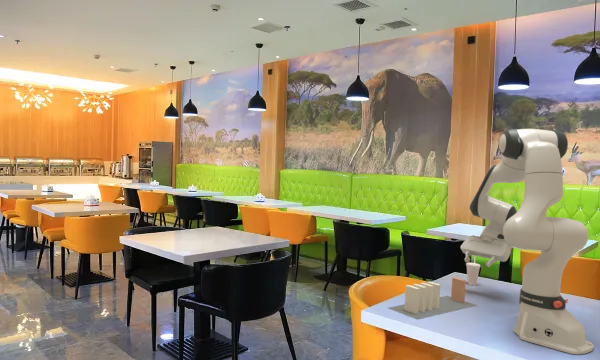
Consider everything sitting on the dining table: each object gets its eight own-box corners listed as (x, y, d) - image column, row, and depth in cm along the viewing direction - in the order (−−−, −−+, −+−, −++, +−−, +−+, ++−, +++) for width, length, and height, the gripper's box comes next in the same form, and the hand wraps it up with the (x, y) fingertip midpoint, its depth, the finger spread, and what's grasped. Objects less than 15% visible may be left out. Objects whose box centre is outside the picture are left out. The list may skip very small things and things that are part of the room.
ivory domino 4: (428, 304, 172) (429, 281, 172) (439, 308, 168) (440, 284, 168) (425, 305, 171) (426, 281, 171) (436, 309, 167) (437, 285, 167)
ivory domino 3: (421, 306, 170) (422, 282, 169) (432, 309, 166) (433, 285, 165) (418, 306, 169) (420, 283, 168) (429, 310, 165) (431, 286, 164)
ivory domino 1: (407, 309, 165) (408, 284, 165) (418, 313, 161) (419, 288, 161) (404, 309, 164) (405, 285, 164) (415, 313, 160) (416, 288, 160)
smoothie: (481, 286, 207) (483, 256, 207) (467, 285, 207) (469, 255, 207) (476, 283, 214) (478, 254, 213) (462, 282, 214) (464, 253, 213)
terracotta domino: (453, 299, 181) (454, 277, 181) (464, 302, 177) (465, 280, 177) (451, 299, 180) (452, 277, 180) (461, 303, 176) (463, 280, 176)
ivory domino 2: (414, 307, 167) (415, 283, 167) (425, 311, 163) (426, 287, 163) (411, 308, 166) (413, 284, 166) (422, 312, 162) (424, 287, 162)
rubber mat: (477, 306, 175) (477, 305, 175) (417, 321, 154) (417, 319, 154) (447, 297, 186) (447, 295, 186) (387, 309, 165) (387, 307, 165)
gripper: (466, 230, 198) (452, 253, 192) (511, 237, 181) (496, 263, 176) (472, 239, 200) (457, 263, 195) (516, 247, 184) (502, 273, 178)
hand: (476, 263), depth 185 cm, fingers open, 8 cm apart
